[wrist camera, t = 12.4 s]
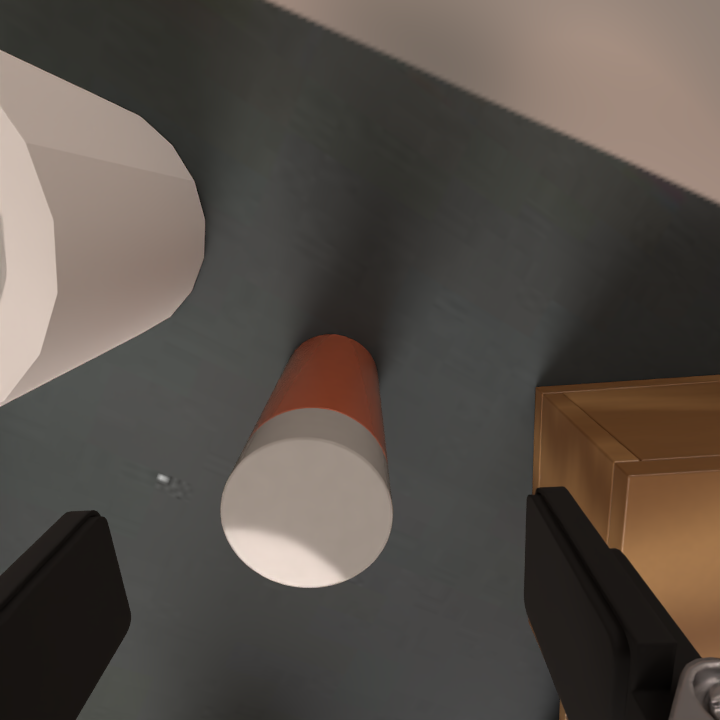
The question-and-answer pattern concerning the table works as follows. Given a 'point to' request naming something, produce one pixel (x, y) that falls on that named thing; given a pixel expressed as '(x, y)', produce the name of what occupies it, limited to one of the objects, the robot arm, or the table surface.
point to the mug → (84, 227)
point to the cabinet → (645, 483)
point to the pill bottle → (314, 471)
